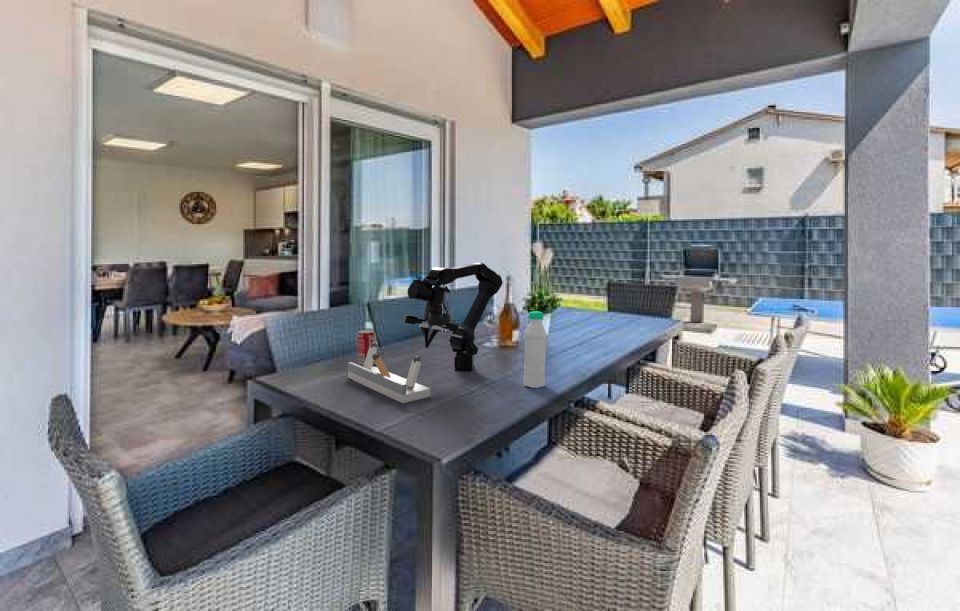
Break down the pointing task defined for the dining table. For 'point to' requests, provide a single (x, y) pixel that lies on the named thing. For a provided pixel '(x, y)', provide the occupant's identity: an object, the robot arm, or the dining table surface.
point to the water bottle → (535, 351)
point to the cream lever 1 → (370, 355)
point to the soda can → (364, 344)
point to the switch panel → (387, 383)
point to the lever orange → (380, 365)
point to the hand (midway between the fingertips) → (426, 347)
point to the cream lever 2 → (413, 372)
